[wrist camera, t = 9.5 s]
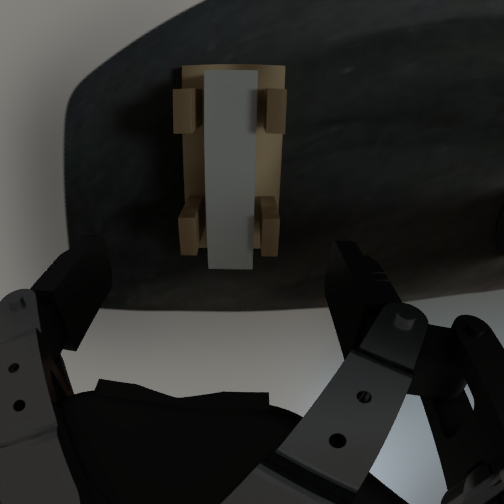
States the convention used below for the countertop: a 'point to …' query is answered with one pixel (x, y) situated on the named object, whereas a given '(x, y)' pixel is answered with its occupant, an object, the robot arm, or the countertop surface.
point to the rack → (267, 154)
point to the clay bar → (230, 166)
